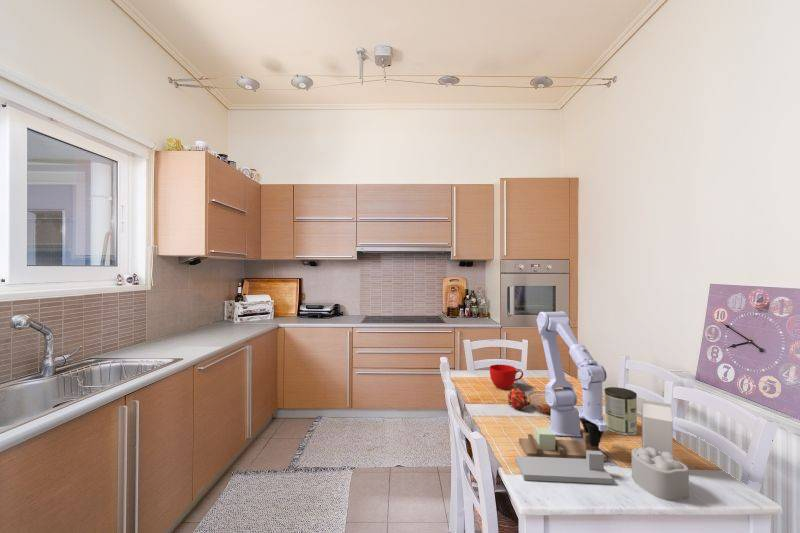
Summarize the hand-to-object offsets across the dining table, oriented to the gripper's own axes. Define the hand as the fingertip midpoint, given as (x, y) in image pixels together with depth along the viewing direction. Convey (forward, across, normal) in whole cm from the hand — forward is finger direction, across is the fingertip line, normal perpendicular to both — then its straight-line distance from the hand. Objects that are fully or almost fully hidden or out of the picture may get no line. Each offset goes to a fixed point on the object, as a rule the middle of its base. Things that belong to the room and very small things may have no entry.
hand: (592, 443), depth 113 cm
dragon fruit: (+3, -37, -14) cm, 40 cm away
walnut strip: (+3, 0, -10) cm, 11 cm away
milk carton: (+3, +5, +17) cm, 18 cm away
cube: (+1, 0, -15) cm, 15 cm away
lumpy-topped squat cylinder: (+3, +16, +10) cm, 19 cm away
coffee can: (+3, -19, +19) cm, 27 cm away
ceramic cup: (+3, -64, -14) cm, 65 cm away
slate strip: (+3, +12, -14) cm, 19 cm away
